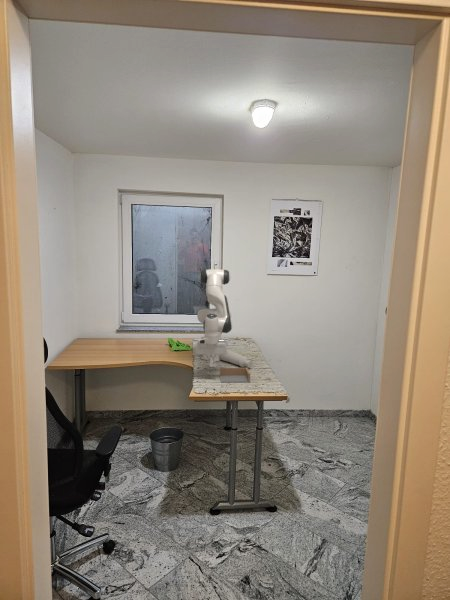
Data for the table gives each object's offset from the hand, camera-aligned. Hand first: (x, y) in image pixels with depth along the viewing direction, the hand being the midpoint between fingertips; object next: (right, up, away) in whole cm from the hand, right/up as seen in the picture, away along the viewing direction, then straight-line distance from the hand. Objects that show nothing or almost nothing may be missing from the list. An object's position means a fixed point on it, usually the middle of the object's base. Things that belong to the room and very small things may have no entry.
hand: (210, 360), depth 232 cm
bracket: (+1, -2, 0) cm, 3 cm away
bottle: (+17, -8, +32) cm, 38 cm away
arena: (+15, -12, -1) cm, 19 cm away
